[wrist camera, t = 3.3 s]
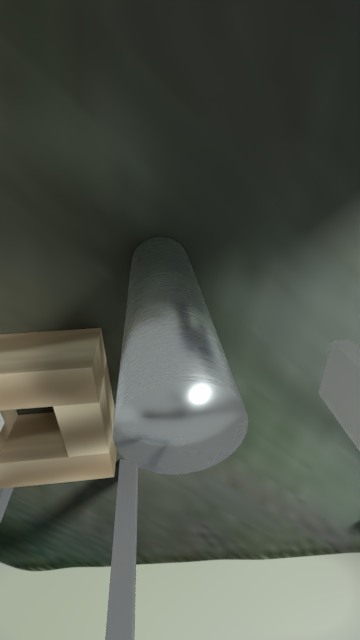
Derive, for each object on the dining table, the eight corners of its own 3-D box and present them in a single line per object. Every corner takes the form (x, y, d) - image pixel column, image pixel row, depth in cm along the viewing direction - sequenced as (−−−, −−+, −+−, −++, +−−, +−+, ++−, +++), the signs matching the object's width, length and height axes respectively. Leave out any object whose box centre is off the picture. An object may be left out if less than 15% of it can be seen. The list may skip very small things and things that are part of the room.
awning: (-23, 442, 30) (-294, 927, 11) (133, 428, 31) (116, 848, 12) (-2, 482, 33) (-186, 908, 15) (138, 468, 34) (131, 847, 16)
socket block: (-57, 337, 24) (-102, 381, 19) (101, 327, 25) (91, 367, 20) (-7, 441, 30) (-33, 491, 25) (118, 429, 31) (114, 477, 26)
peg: (128, 237, 21) (103, 386, 8) (188, 235, 22) (255, 375, 9) (134, 292, 23) (120, 480, 10) (188, 289, 24) (241, 468, 11)
